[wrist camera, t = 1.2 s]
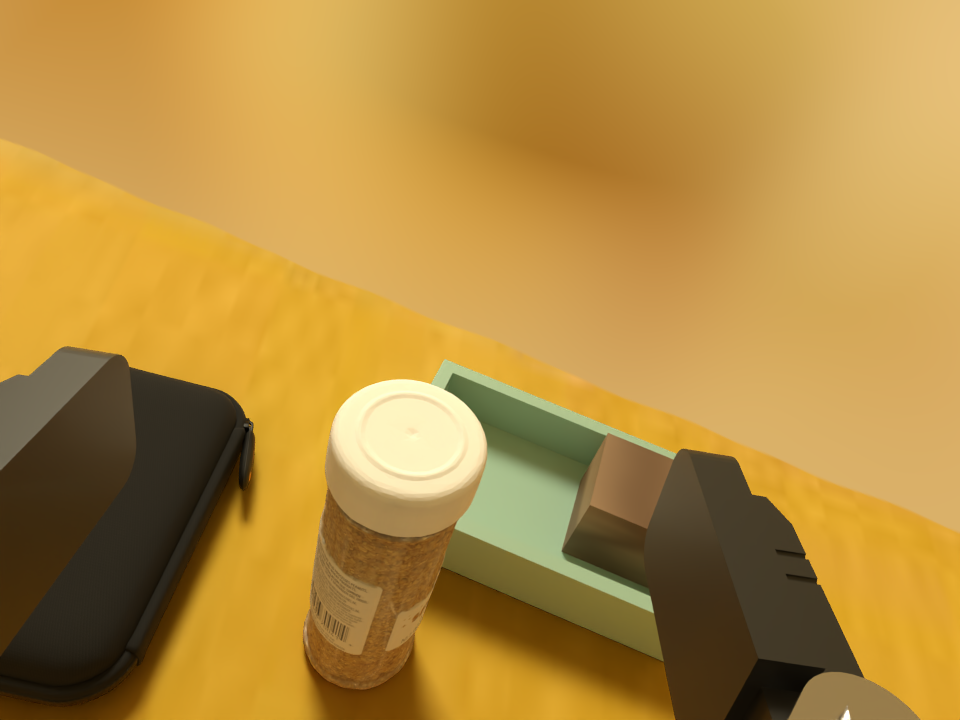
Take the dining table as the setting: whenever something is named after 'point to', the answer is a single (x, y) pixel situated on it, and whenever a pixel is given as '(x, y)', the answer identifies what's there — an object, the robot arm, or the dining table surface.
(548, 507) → the tray
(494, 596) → the dining table surface
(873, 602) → the dining table surface
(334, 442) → the sprinkles bottle
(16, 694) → the carrying case or bag
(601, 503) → the copper block
